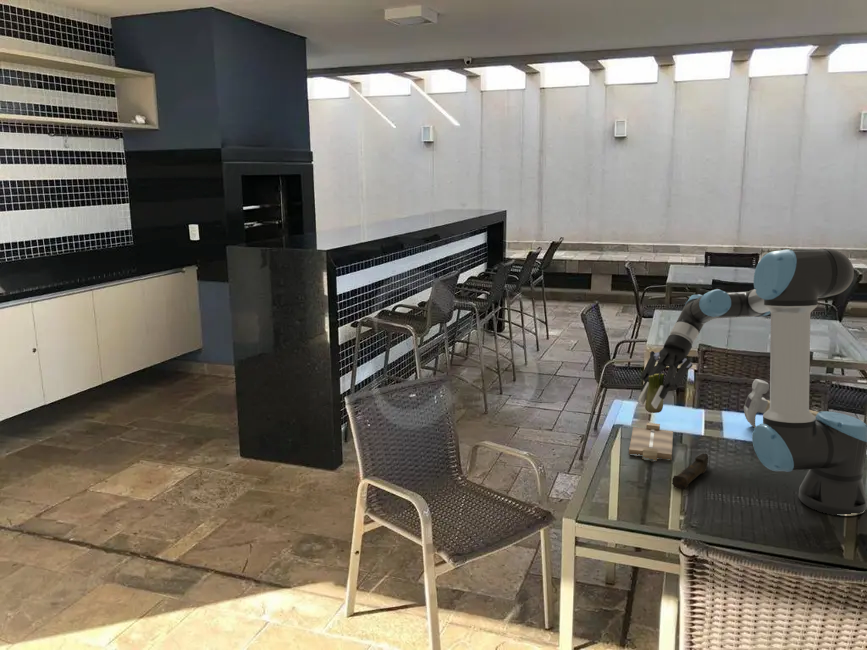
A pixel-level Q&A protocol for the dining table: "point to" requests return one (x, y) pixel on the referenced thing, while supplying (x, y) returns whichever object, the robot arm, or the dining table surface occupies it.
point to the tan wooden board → (651, 442)
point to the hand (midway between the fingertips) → (647, 404)
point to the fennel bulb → (654, 393)
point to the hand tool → (691, 472)
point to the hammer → (758, 401)
